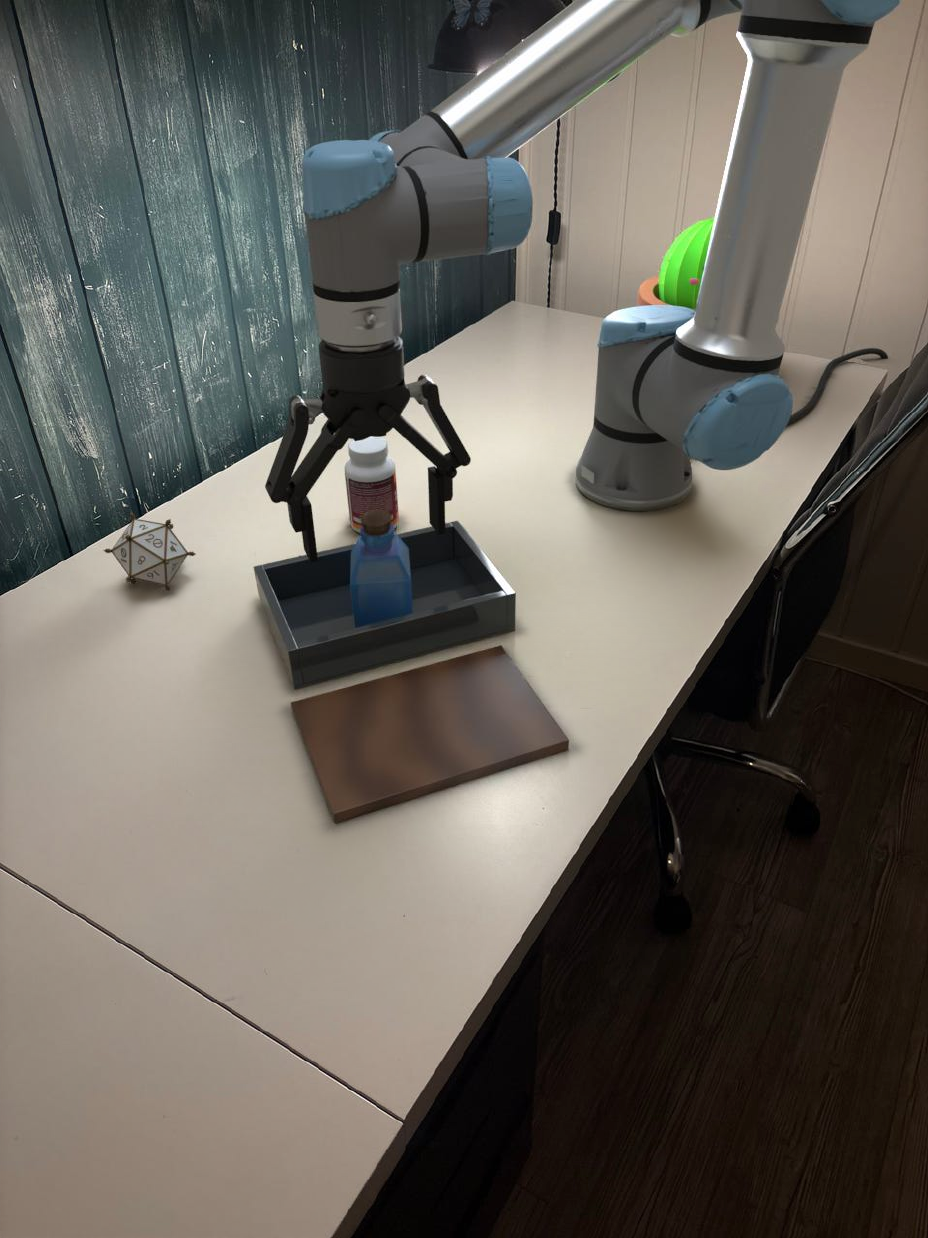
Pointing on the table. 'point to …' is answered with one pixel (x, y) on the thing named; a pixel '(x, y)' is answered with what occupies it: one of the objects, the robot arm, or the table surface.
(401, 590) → the perfume bottle
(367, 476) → the pill bottle
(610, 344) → the robot arm
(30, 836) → the table surface
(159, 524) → the game die
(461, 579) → the tray
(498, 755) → the board
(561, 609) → the table surface
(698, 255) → the potted cactus
